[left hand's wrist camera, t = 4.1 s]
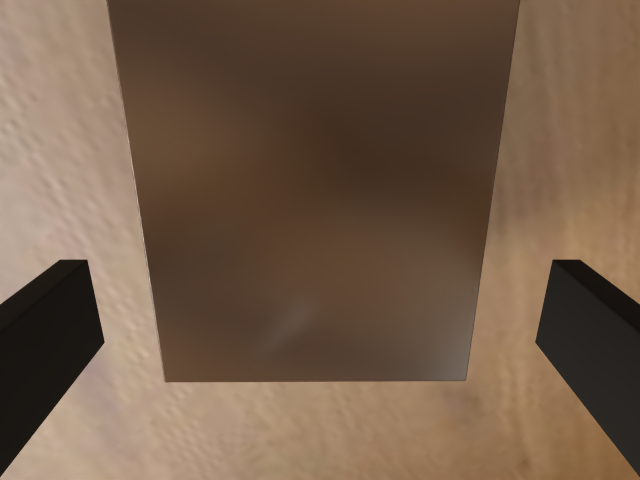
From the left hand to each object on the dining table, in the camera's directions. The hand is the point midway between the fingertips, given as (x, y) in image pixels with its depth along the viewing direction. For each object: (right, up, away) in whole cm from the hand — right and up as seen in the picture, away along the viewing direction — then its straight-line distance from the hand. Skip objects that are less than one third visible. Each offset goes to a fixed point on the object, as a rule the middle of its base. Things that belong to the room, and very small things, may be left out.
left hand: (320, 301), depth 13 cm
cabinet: (0, +10, +8) cm, 13 cm away
